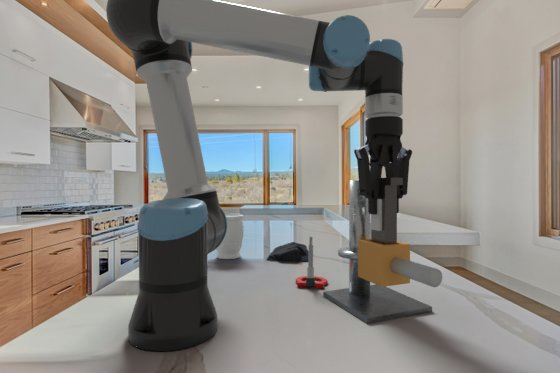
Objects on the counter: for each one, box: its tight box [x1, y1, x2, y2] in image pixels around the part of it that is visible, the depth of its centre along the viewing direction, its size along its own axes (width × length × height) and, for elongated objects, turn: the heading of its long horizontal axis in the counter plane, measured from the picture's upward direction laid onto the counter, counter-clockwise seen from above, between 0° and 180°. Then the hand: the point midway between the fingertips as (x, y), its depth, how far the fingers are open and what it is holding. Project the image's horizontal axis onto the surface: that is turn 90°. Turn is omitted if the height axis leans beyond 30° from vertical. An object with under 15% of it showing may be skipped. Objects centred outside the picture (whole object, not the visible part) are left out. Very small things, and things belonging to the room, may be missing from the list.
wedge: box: [371, 177, 403, 244], centre depth 73 cm, size 3×8×14 cm, turn 22°
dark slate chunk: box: [266, 241, 309, 263], centre depth 125 cm, size 15×22×5 cm
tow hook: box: [295, 236, 328, 289], centre depth 91 cm, size 8×13×9 cm
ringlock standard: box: [322, 179, 433, 324], centre depth 76 cm, size 16×19×27 cm
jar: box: [215, 213, 244, 260], centre depth 122 cm, size 11×10×15 cm
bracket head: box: [358, 239, 443, 288], centre depth 68 cm, size 7×18×8 cm, turn 22°
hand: (383, 229), depth 73 cm, fingers closed on wedge, 3 cm apart
